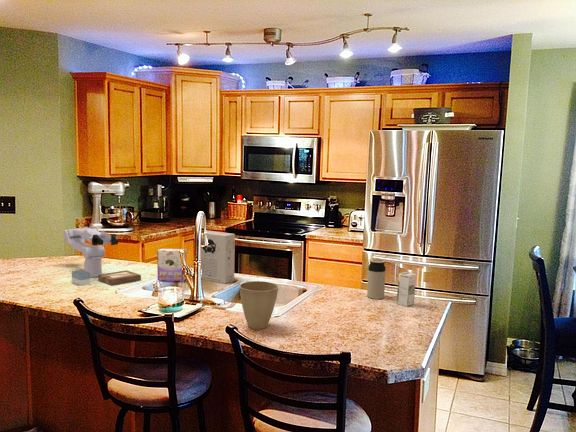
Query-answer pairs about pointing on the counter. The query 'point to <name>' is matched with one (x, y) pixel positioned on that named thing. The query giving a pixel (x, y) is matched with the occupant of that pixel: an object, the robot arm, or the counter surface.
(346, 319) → the counter surface
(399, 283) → the syrup box
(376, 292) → the travel mug
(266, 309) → the plant pot
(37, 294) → the counter surface
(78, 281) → the block
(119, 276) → the stand
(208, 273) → the cereal box
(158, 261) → the candy box
